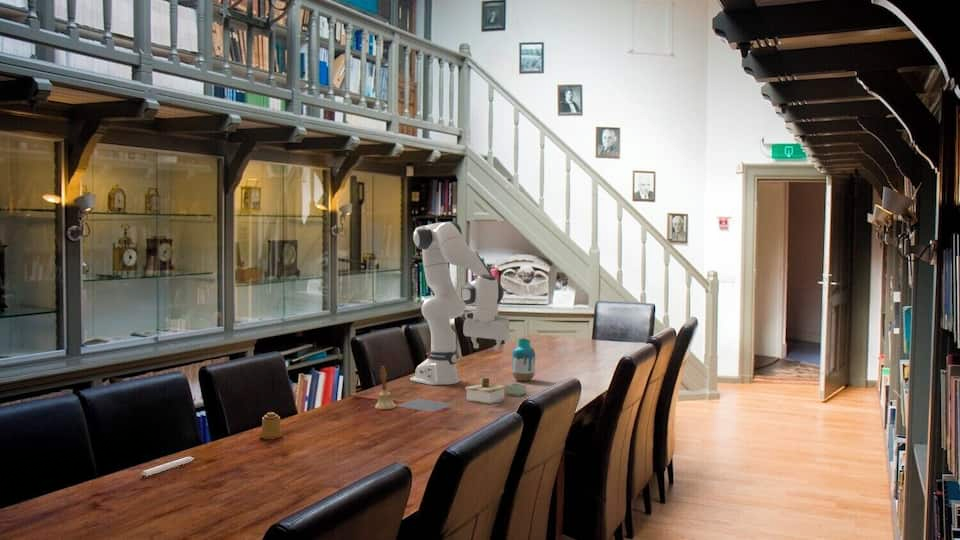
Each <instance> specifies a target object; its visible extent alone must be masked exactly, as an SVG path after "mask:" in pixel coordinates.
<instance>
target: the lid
mask: <svg viewBox="0 0 960 540" xmlns="http://www.w3.org/2000/svg"><path fill="white" fill-rule="evenodd" d="M501 389H504V390H505V389H506V385H502V384H494V383H490V378H489V377H484V378H481V382H478V383H475V384H472V385H468V386H465V387H464V390H466V391H467V390H474V391H481V392H488V393H492V392H495V391H498V390H501Z"/></svg>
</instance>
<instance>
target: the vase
mask: <svg viewBox="0 0 960 540" xmlns="http://www.w3.org/2000/svg"><path fill="white" fill-rule="evenodd" d="M511 356H512V357H511V371H512V372H511V373H512V376H513V378H514V379H515V380H517V381H520V382H528V381H531V380H532V379H533V378H534V377H535V372H536V371H535V370H536V352H535V349H534V348H533V347H531V339H529V338H518V339H517V345H516V347H514V348H513V350H512V355H511Z"/></svg>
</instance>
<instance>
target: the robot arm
mask: <svg viewBox="0 0 960 540" xmlns="http://www.w3.org/2000/svg"><path fill="white" fill-rule="evenodd" d="M462 234H463V233H462V228H461V226H460V225H459V223H458V222H455V221H445V222H435V223H431V224H427V225H420V226H417V227H416V228H415V229H414V231H413V233H412V239H413V242H414V246H415V247H416V248H417V249H419V250H422V254H421V255H422V256H421V257H422V265H423V270H424V275H425V281H426V285H427V287H428V288H430V289H431V291H432V292H433V294H434V296H432V297H430V298H428V299H426V300H424V302H423V303H422V305H421V309H420V310H421V314H422V316H423V317H424V319H425V320H426V321H427V323H428V326H429V327H428V328H429V331H430V350H429V351H427V352H425V353H426V354H425V355H428V356H427V358H426V359H425V360H423V361H422V362H421V363H420V364H418V365H417V366H416V368H415V372H414V376H411V377H410V378H409V381H411V382H416V383H420V384H426V385H429V386H437V385H439V386H440V385H444V386H445V385H453V384H457V383H459V382H460V380H459V377H458V371H457V358H458V357H457V353H458V352H457V350H456V349H457V345H456V344H457V342H456V341H457V334H456V332H455V331H454V330H453V329H452V325H451V320H452V319H456V318H459V317H461V316H462V315H463V314H464V312H465V311H466V305H470V306H476V307H475V310H473V311H470V312H466V313H465V314H464V318H465V319H464V322H463V327H462V330H463V331H462V332H463V333H462V334H463V335H464V337H470V340H471V342H472V344H473V348H474V349H479V346H480V344H479V343H478V342H477V339H478V338H481V339H487V340H495V343H496V344H495V345H493V351H496V352H498V351H499V349H500V345H501V344H502V341H508V340H509V339H510V337H511V335H510V334H511V333H510V332H511V331H510V320H509V318H507V317H506V316H499V313H498V312H499V311H498V310H499V306H498V305H499V303H500V302H501V301H502V299H503V297H504V294H505V292H504V291H505V290H504V288H503V286H502V284H501V283H500V282H499V281H498V279H497V277H496V276H494V275H493V274H492V272H491V271H490V270H489V267H488V266H487V265H486V263H485V261H483V259H482V258H481V256H479V255H478V253H476V252H475V251H474V250H473V249H472V248H470V246H468V244H467V243H466V241H465V239H464V237H463V235H462ZM449 264H450V265H453V266H455V267H456V266H457V267H462V268H464V269H468V270H469V271H471V272H472V273H473V274H474V275H475V276H476V278H475V279H474V280H471V281H468V282H465V283H464V284H463V285H462V287H461V289H460V295H459V293H458V291H457V290H456V287H455V286H454V283H453V280H452V278H451V273H450V268H449V267H450V266H449Z"/></svg>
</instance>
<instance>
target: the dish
mask: <svg viewBox="0 0 960 540" xmlns="http://www.w3.org/2000/svg"><path fill="white" fill-rule="evenodd" d="M466 401H469V402H475V403H482V404H489V405H491V404H493V403H500V402H503V401H505V388H504V389H501V390H498V391H495V392H492V393H488V392H481V391H474V390H467V389H466Z"/></svg>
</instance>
